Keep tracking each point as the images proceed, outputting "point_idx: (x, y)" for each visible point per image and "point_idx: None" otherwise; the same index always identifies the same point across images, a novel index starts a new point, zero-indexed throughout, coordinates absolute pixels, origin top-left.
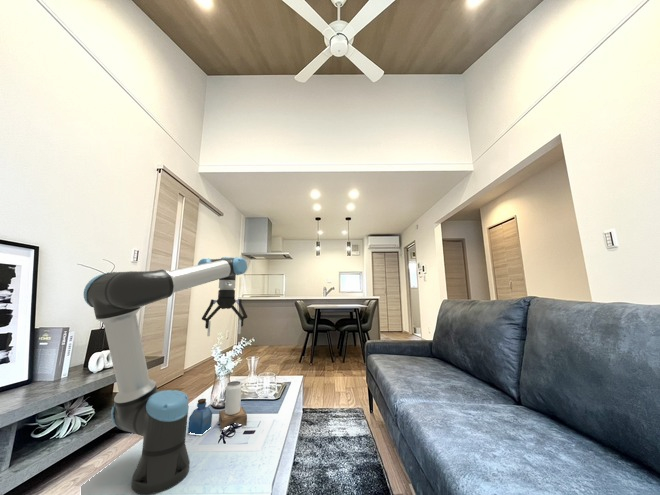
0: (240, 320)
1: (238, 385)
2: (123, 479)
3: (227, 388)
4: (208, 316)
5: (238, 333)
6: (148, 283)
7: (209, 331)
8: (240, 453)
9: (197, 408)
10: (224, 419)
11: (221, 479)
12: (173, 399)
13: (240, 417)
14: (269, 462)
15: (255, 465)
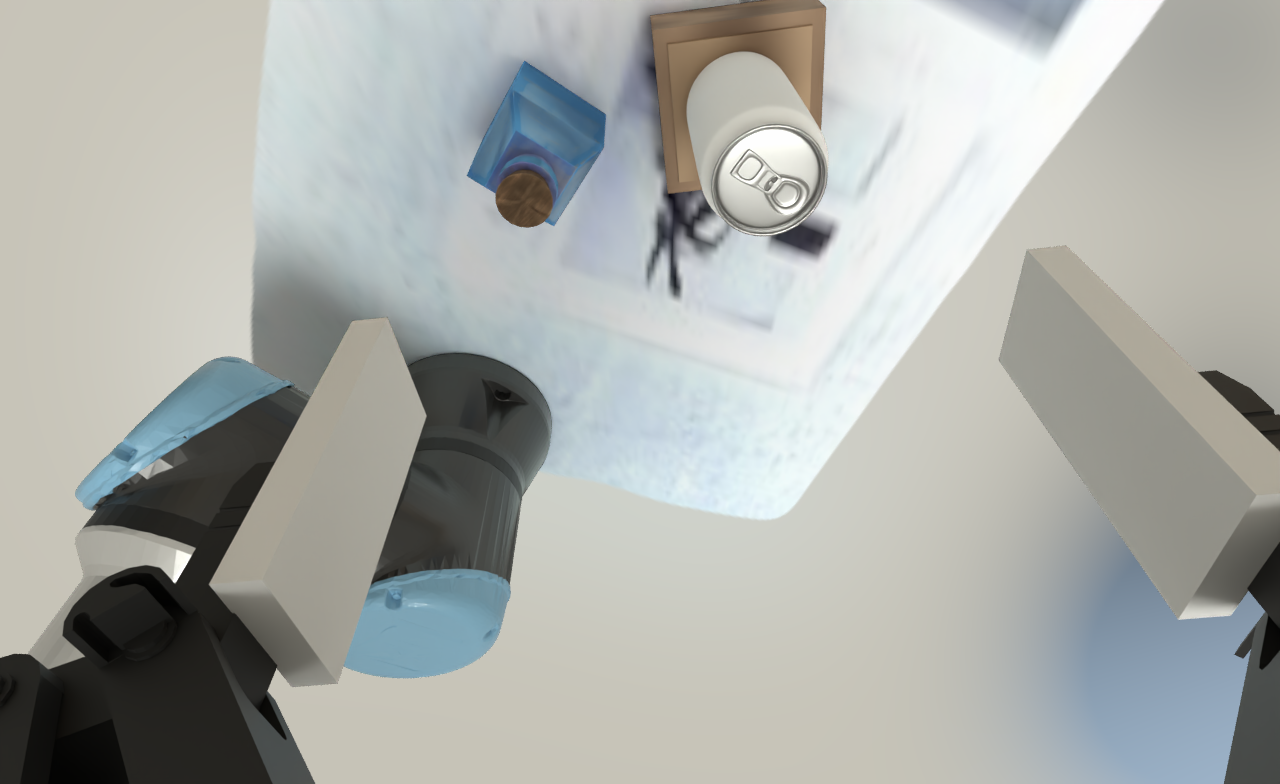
0: (1199, 603)
1: (798, 217)
2: None
3: (708, 202)
4: (138, 764)
5: (1010, 325)
6: None
7: (396, 483)
8: (729, 385)
9: (502, 164)
10: (680, 187)
11: (656, 480)
12: (440, 659)
13: None
14: (811, 458)
15: (764, 457)
